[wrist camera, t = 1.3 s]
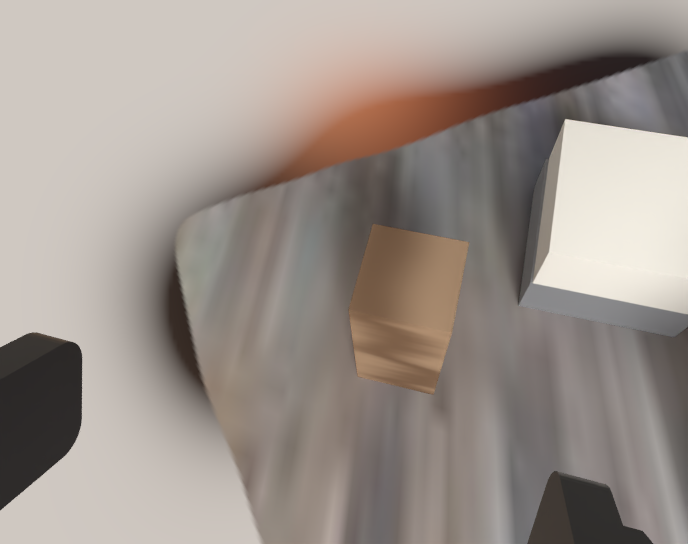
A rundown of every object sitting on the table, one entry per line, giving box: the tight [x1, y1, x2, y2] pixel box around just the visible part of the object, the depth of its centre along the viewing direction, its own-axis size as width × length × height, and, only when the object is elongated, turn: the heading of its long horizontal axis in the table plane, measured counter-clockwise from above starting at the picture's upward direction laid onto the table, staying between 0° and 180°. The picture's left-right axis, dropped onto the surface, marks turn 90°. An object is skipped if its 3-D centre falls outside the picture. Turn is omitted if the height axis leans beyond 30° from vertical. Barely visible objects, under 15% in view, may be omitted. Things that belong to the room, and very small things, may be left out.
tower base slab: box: [518, 159, 688, 337], centre depth 38 cm, size 10×10×4 cm
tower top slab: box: [533, 119, 688, 314], centre depth 35 cm, size 10×10×4 cm
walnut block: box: [349, 224, 469, 394], centre depth 33 cm, size 5×5×11 cm
